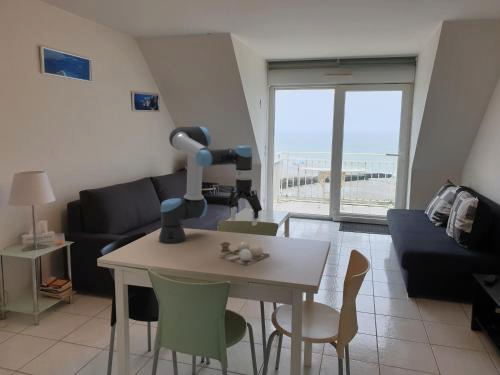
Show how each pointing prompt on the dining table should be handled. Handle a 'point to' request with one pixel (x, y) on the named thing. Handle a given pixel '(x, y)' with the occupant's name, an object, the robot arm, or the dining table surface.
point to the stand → (225, 247)
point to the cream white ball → (256, 250)
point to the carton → (235, 258)
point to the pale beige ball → (243, 246)
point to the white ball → (245, 255)
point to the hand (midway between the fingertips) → (243, 222)
